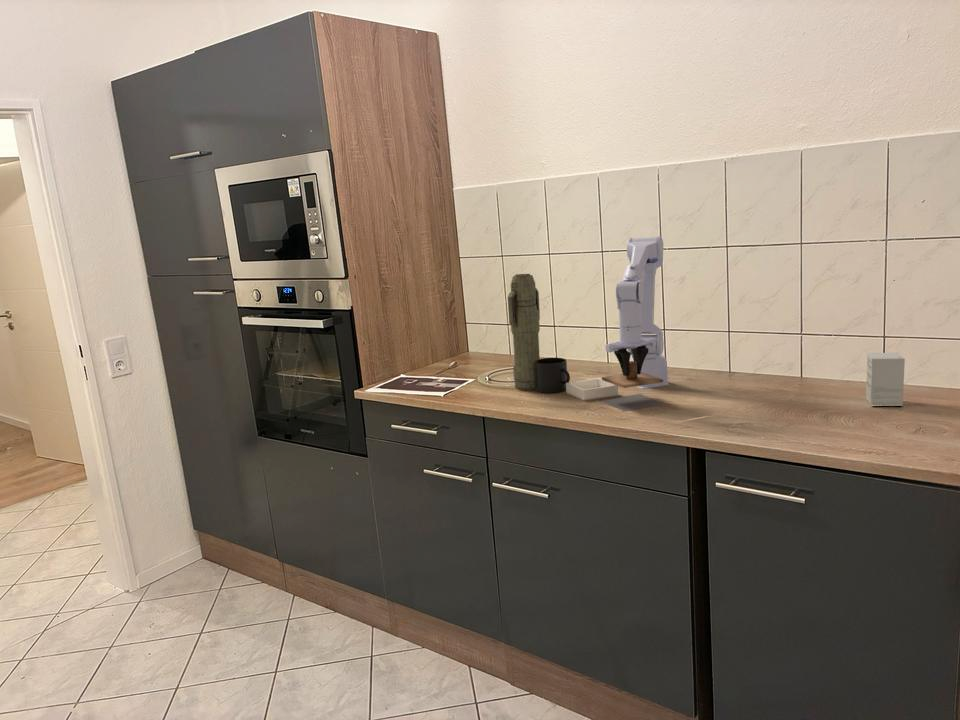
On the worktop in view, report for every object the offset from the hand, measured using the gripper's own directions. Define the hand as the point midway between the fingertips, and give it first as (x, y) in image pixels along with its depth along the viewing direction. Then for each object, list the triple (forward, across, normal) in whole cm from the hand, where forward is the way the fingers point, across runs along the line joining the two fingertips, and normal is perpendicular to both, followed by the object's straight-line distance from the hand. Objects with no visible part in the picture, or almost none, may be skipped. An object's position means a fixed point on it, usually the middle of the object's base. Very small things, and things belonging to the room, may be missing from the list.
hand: (631, 374), depth 201 cm
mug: (+8, -11, +26) cm, 29 cm away
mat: (+8, 0, 0) cm, 8 cm away
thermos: (+8, -16, +35) cm, 39 cm away
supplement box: (+8, +52, -35) cm, 63 cm away
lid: (+2, 0, 0) cm, 2 cm away
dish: (+8, -5, +14) cm, 17 cm away
